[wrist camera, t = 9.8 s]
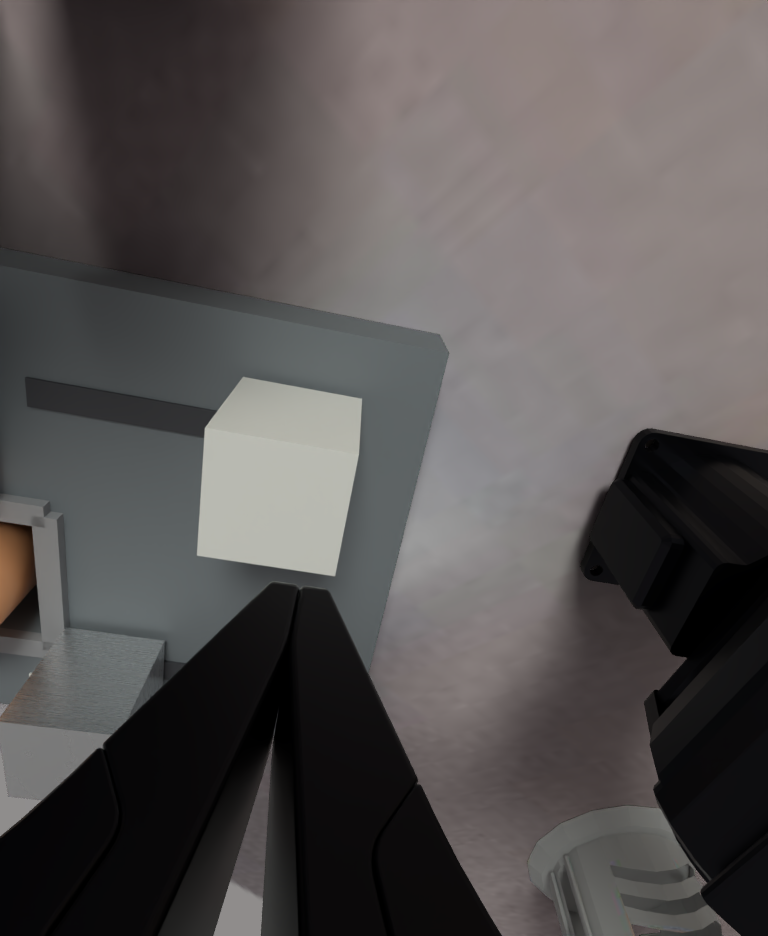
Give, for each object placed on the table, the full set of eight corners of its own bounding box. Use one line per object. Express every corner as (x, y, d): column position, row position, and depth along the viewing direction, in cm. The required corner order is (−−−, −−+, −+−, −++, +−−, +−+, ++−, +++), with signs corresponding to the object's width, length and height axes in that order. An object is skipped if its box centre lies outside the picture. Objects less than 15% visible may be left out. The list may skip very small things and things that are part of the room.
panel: (439, 334, 18) (452, 359, 15) (352, 696, 25) (349, 760, 23) (-144, 218, 16) (-254, 221, 14) (-61, 644, 24) (-121, 705, 21)
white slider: (362, 398, 16) (358, 454, 13) (342, 500, 18) (334, 576, 14) (242, 377, 16) (205, 427, 12) (233, 482, 17) (196, 555, 14)
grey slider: (164, 640, 20) (119, 735, 17) (162, 707, 22) (120, 808, 18) (65, 627, 20) (-3, 721, 16) (69, 696, 21) (8, 796, 18)
